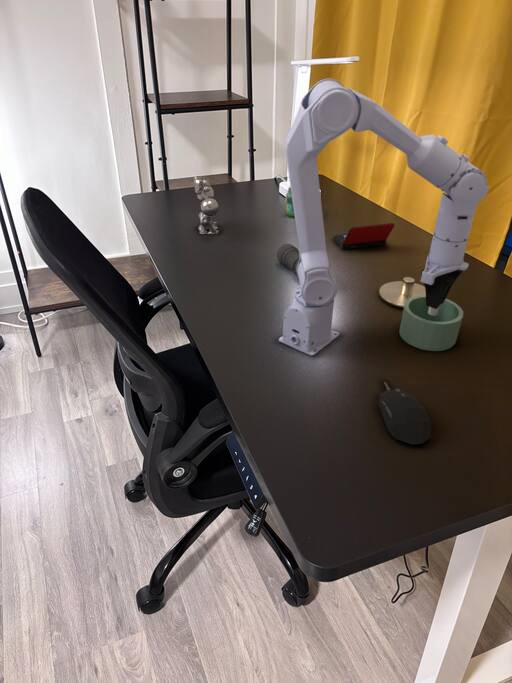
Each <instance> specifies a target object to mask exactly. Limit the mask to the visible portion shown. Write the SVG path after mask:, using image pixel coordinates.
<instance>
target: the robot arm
mask: <svg viewBox="0 0 512 683" xmlns="http://www.w3.org/2000/svg"><path fill="white" fill-rule="evenodd" d="M350 129H351V130H352V131H353V132H354V133H360V132H366V131H370V132H372V133H374V134H375V135H377V136H378V137H380V138H381V139H382V140H384V141H385V142H387V143H389V144H390V145H392V146H393V147H394V148H396V149H398V150H399V151H400V152H402V153H404V154H405V155H406V165H407V167H408V168H409V169H410V170H411V171H413V172H414V173H415V174H417V175H418V176H420V177H421V178H422V179H424V180H426V181H427V182H428V183H430V184H431V185H433V187H435V188H437V189H439V190H441V192H442V194H441V197H440V198H441V199H440V203H439V207H438V211H437V216H436V219H435V220H436V221H435V226H434V230H433V235H432V240H431V244H430V249H429V253H428V255H427V257H426V261H425V267H424V268H423V269H422V270H421V271H420V282H421V283H423V284H424V285H423V286H424V287H425V292H426V305H427V306H429V307H432V308H434V309H437V308H438V307H439V306H440V304H443V302H444V301H445V299H447V297H448V295H449V293H450V291H451V289H452V287H453V285H454V284H455V282H456V281H457V279H458V278H459V277H460V276H461V275H462V273H463V272H464V271H466V270H468V268H469V266H470V265H469V263H468V262H465V261H464V258H465V253H466V250H467V246H468V245H467V244H468V241H469V237H470V234H471V230H472V227H473V221H474V218H475V214H476V210H477V207H478V205H479V204H480V203H481V201H482V200H484V198H485V197H486V196H487V194H488V192H489V190H490V187H489V186H488V179H487V176H486V174H485V173H484V172H483V171H482V170H481V169H479V168H478V167H477V166H475V165H474V164H473V163H471V162H470V157H469V156H467V155H466V154H465V153H462V154H459V153H458V152H457V151H456V150H454V149H453V148H451V147H450V146H449V145H447V144H449V140H448V139H446V138H445V137H444V136H443V135H441V134H439V135H438V136H435V134H427V135H422V136H419V135H418V134H416V132H414V131H413V130H411V129H410V128H409V127H408V126H407V125H405V124H404V123H402V122H401V121H400V120H399V119H397V118H396V117H395V116H394V115H393V114H391V113H390V112H389V111H388V110H386V109H385V108H384V107H383V106H381V105H380V104H378V102H376V101H375V100H373V99H372V98H370V97H368V96H366V95H364V94H362V93H360V92H358V91H357V90H355V89H354V88H350V87H347V88H346V87H345V86H344V85H343V83H342V82H340V81H339V80H336V79H334V78H324V79H321V80H319V81H317V82H315V84H314V85H313V86H312V87H311V88H310V89H309V90H307V93H305V95H303V97H302V98H301V100H300V104H299V107H298V110H297V112H296V115H295V118H294V119H293V122H292V125H291V127H290V129H289V131H288V134H287V136H286V138H285V141H284V149H285V156H286V164H287V169H288V170H287V171H288V178H289V186H290V187H291V193H292V200H293V208H294V215H295V217H294V221H295V229H296V235H297V242H298V243H297V244H298V250H299V262H298V264H297V268H296V271H297V275H298V277H297V278H298V281H299V285H298V286H297V288H296V290H295V292H294V299H293V301H292V303H291V305H290V306H289V307H288V308H287V309H286V310H285V311H284V314H283V318H282V321H283V322H282V336H280V337H279V338H278V342H279V343H282V344H284V345H287V346H288V347H291V348H293V349H295V350H297V351H299V352H302V353H304V354H306V355H308V356H311V357H313V356H315V355H316V354H318V353H319V352H320V351H321V350H323V349H324V348H325V347H326V346H328V345H329V344H331V342H333V341H334V340H335V339H337V338H338V337H339V336H340V332H339V331H337V330H334V329H332V324H333V314H334V307H335V306H334V304H335V298H336V296H337V294H338V284H337V281H336V280H335V277H334V275H333V272H332V269H331V264H330V261H329V257H328V251H327V242H326V235H325V234H326V233H325V225H324V216H323V206H322V205H323V204H322V196H321V187H320V177H319V168H318V160H317V159H318V158H317V157H318V156H319V154H321V153H322V151H323V150H324V149H325V148H326V146H327V145H329V143H331V142H332V141H333V140H335V139H337V138H339V137H340V136H342V135H344V134H345V133H347V131H349V130H350Z"/></svg>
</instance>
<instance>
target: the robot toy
mask: <svg viewBox="0 0 512 683" xmlns="http://www.w3.org/2000/svg"><path fill="white" fill-rule="evenodd" d="M205 178H206V177H202V176H200V175H197V176H195V177H194V178H193V189H194V191H195V195H196V199H197V201H198V202H199V203H200V211H201V212H199V214H198V215H197V216H198V220H199V223H200V225H199V226H198V227H197V229H198V231H199V234H200V235H218V234H219V233H220V230H219V226H218V224H216V223H217V221H214V217H215V215H217V213H218V212H219V208H220V207H219V203H218V202H217V200H216V199H214V198H215V193H214V192H215V191H214V189H213V188H212V186H211V184H210V183H209V179H210V178H207V179H205Z"/></svg>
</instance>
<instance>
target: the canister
mask: <svg viewBox="0 0 512 683" xmlns="http://www.w3.org/2000/svg"><path fill="white" fill-rule="evenodd" d="M428 310H429V306H427V305H426V295H420V296H415V297H412V298H410V299H408V300H407V301H406V302H405V305H404V308H403V311H402V315H401V316H402V317H401V321H400V325H399V335H400V337H401V339H402V340H403V341H404V342H405V343H407V344H408V345H410V346H412V347H414V348H417V349H420V350H424V351H429V352H441V351H446V350H449V349H451V348H452V347H453V346H455V345H456V343H457V340H458V336H459V332H460V329H461V325H462V322H463V319H464V310H463V308H462V307H461V306H460V305H458V304H457V303H456V302H454V301H453V300H450V299H449V298H446V299H445V301H444V302H443V304H440V306H439V309H438V313H437V315H435V316H432V315H429V314H428Z"/></svg>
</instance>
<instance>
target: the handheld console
mask: <svg viewBox="0 0 512 683" xmlns="http://www.w3.org/2000/svg"><path fill="white" fill-rule="evenodd" d="M394 228H395V223H393V222H390V223H381V224H372V225H363V226H354V227H350V228H349V229H348V231H347V233H342V234H337V235H333V238H332V239H333V241H334V242H335V243H336V244H337V245H338V246H339V247H340V248H341V250H351V249H356V248H357V249H359V248H366V247H376V246H384V245H386V243H387V239H388V238H389V237H390V235H391V233H392V231H393V229H394Z"/></svg>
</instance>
